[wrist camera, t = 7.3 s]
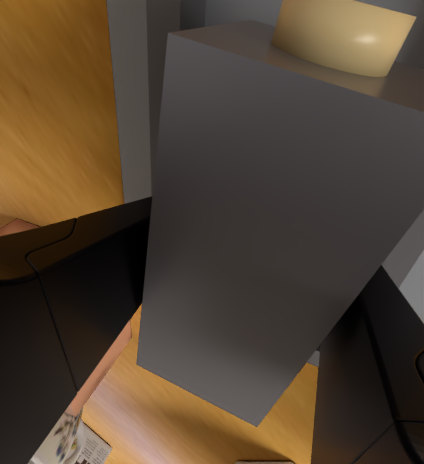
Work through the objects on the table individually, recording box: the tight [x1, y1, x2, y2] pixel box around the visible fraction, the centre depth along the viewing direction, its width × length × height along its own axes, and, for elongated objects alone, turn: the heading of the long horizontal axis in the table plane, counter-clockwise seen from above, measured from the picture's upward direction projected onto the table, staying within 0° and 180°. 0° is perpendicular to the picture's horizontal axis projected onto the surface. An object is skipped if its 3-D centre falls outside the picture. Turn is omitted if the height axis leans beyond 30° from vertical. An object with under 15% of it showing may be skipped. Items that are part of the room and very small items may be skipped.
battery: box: [136, 0, 424, 427], centre depth 8 cm, size 10×4×4 cm, turn 169°
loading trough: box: [106, 0, 424, 367], centre depth 11 cm, size 18×14×2 cm
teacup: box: [28, 407, 85, 464], centre depth 28 cm, size 15×12×8 cm
